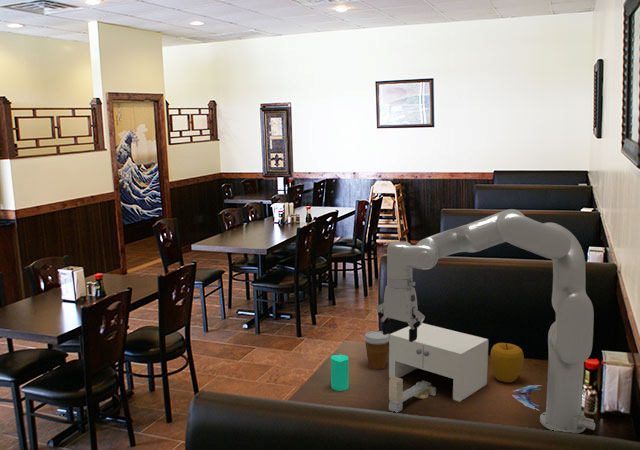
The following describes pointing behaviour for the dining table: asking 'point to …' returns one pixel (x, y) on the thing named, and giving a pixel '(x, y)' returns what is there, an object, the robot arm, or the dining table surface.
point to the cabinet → (441, 357)
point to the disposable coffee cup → (376, 348)
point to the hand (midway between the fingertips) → (399, 337)
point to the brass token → (422, 394)
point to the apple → (506, 361)
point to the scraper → (405, 392)
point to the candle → (339, 372)
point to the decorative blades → (526, 399)
